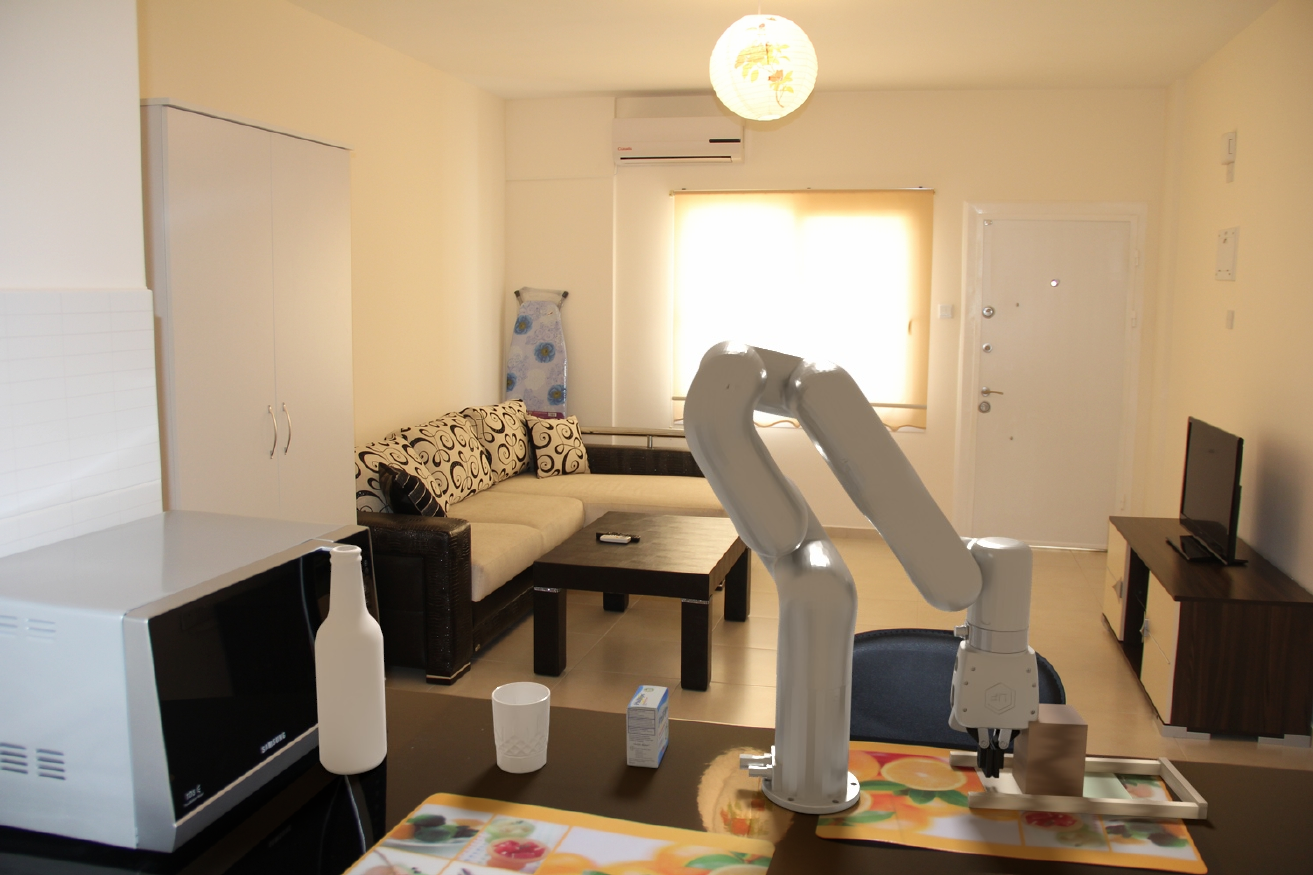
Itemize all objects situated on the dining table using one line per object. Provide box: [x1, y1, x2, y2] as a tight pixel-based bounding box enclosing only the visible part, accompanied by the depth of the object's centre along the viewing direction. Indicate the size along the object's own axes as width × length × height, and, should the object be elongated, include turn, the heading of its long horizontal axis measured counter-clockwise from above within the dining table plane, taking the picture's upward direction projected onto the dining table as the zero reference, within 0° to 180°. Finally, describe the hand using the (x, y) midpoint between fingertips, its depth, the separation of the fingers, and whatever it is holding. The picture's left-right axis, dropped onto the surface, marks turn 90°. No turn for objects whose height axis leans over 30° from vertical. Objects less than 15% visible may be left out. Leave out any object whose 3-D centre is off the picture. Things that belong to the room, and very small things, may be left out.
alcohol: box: [314, 544, 388, 775], centre depth 134 cm, size 9×9×30 cm
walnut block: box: [1012, 703, 1089, 797], centre depth 126 cm, size 7×6×10 cm
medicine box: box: [625, 684, 670, 769], centre depth 138 cm, size 8×4×9 cm, turn 168°
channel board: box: [948, 750, 1209, 820], centre depth 127 cm, size 28×12×4 cm, turn 85°
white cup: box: [491, 681, 551, 774], centre depth 135 cm, size 8×8×10 cm
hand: (989, 772), depth 127 cm, fingers closed
